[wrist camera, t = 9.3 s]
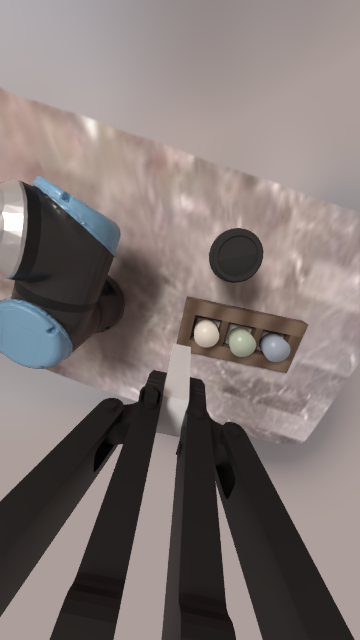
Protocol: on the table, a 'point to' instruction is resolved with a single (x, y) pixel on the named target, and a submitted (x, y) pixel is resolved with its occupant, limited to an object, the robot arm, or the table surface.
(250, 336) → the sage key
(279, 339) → the pale blue rounded knob
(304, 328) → the wooden tray
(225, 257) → the coffee cup
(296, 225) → the table surface
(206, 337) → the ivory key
